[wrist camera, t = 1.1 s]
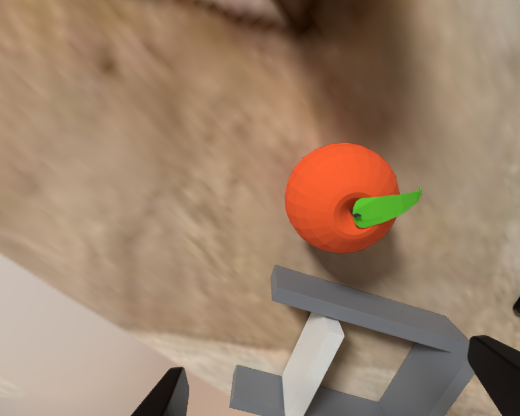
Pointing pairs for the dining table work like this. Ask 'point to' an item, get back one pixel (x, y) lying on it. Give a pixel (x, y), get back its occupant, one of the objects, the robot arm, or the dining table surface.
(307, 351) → the pusher paddle
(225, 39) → the dining table surface
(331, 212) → the clementine
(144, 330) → the dining table surface
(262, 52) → the dining table surface
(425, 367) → the grey shallow tray
